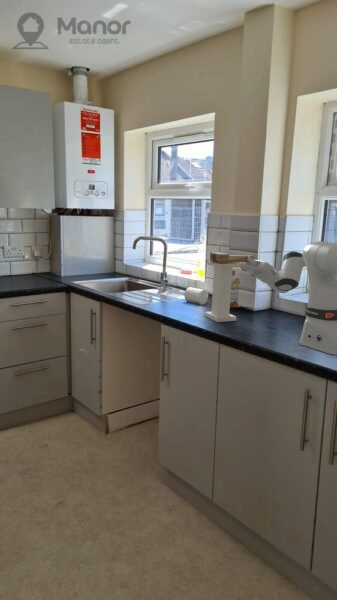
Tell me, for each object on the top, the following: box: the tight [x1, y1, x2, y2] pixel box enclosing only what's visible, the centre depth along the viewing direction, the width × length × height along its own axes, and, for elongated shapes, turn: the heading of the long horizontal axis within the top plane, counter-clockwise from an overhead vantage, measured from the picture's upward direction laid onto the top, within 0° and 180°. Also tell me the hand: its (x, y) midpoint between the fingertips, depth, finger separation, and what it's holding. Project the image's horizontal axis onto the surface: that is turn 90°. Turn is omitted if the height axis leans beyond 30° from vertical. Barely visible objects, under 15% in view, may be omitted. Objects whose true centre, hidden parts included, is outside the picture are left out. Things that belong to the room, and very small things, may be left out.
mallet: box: [209, 251, 254, 263], centre depth 207 cm, size 8×20×4 cm, turn 115°
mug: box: [184, 286, 209, 305], centre depth 244 cm, size 12×10×8 cm
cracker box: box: [230, 268, 242, 308], centre depth 236 cm, size 14×6×21 cm, turn 105°
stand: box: [203, 260, 241, 323], centre depth 207 cm, size 12×10×26 cm
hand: (244, 257), depth 209 cm, fingers closed on mallet, 3 cm apart
